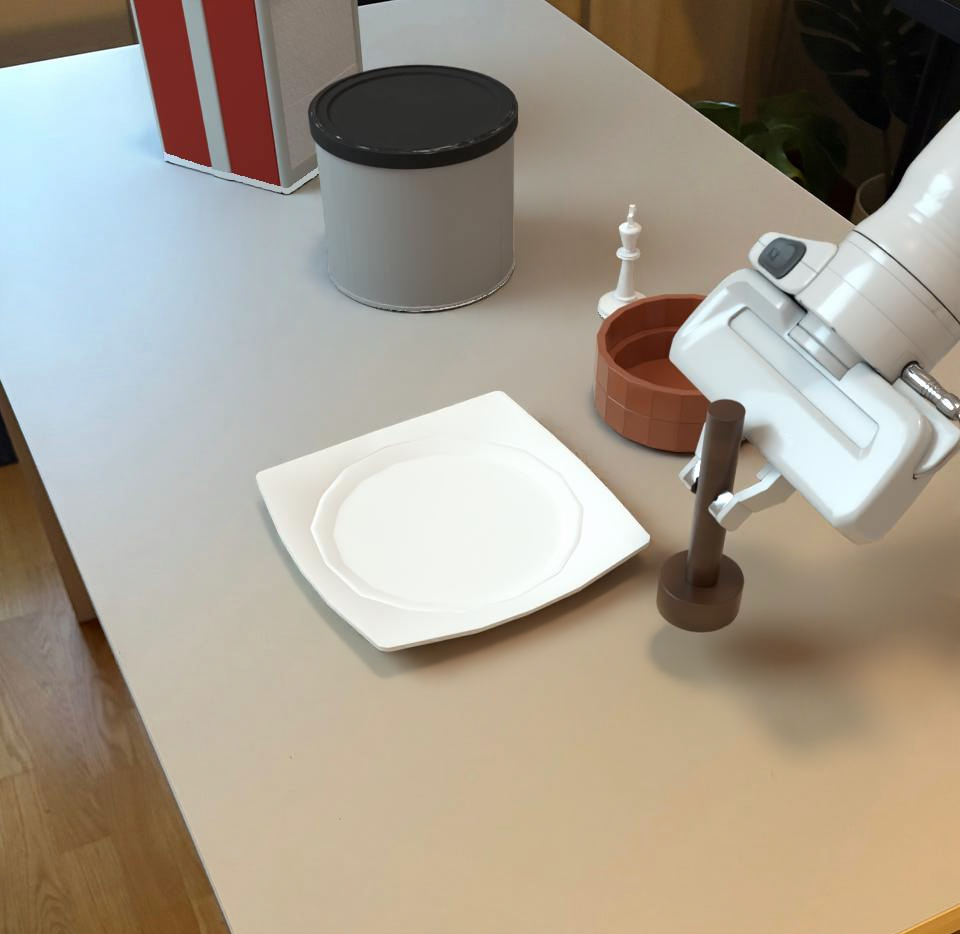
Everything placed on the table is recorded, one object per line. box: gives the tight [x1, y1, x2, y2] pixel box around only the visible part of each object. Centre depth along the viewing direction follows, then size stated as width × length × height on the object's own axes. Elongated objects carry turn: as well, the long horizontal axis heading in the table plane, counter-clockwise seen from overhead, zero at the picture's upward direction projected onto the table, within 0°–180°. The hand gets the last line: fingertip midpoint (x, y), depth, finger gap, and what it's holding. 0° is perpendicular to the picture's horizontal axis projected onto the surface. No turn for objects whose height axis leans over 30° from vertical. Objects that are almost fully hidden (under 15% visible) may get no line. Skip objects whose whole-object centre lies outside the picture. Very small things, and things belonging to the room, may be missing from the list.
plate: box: [255, 390, 651, 653], centre depth 93 cm, size 24×24×3 cm
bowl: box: [592, 293, 747, 453], centre depth 102 cm, size 15×15×6 cm
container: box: [308, 64, 519, 311], centre depth 115 cm, size 19×19×15 cm
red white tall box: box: [129, 0, 364, 188], centre depth 127 cm, size 16×18×27 cm
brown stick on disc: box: [655, 399, 746, 634], centre depth 77 cm, size 6×6×16 cm
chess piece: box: [597, 204, 647, 320], centre depth 110 cm, size 5×5×10 cm
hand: (703, 504), depth 76 cm, fingers closed on brown stick on disc, 2 cm apart
